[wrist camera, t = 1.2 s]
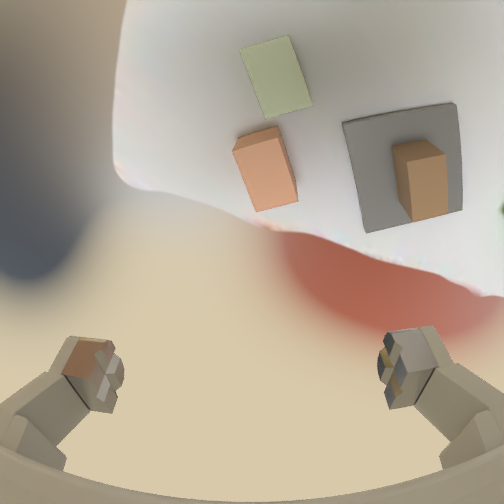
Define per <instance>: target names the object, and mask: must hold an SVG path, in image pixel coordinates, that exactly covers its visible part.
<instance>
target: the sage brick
mask: <svg viewBox="0 0 504 504" xmlns="http://www.w3.org/2000/svg"><path fill="white" fill-rule="evenodd" d="M239 52H240V54H241V57H242V59H243V62H244V64H245V67H246V69H247V72H248V75H249V77H250V80H251V82H252V85H253V88H254V90H255V93H256V95H257V98H258V101H259V103H260V106H261V109H262V112H263V114H264V117H265V119H269V118H272V117H276V116H279V115H282V114H286V113H289V112H293V111H297V110H300V109H304V108H308V107H312V106H313V105H312V101H311V98H310V95H309V92H308V89H307V86H306V83H305V80H304V77H303V74H302V71H301V68H300V65H299V63H298V60H297V57H296V54H295V51H294V49H293V46H292V43H291V41H290V38H289V35H287V36H283V37H280V38H276V39H273V40H269V41H266V42H263V43H259V44H256V45H253V46H250V47H247V48H244V49H241V50H239Z"/></svg>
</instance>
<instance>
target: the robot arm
mask: <svg viewBox="0 0 504 504" xmlns="http://www.w3.org/2000/svg"><path fill="white" fill-rule="evenodd" d="M383 343H384V345H385V347H384V348H383V349H382V350H381V351H380V353H379V356H378V362H377V367H378V368H377V369H378V374H379V378H380V381H382V382H383V383H384V384H386V385H387V386H386V389H385V391H384V394H385V397H386V400H387V404H388V407H389V409H396V408H402V407H407V406H412V405H415V406H414V407H415V408H416V409H417V410H418V411H419V412H420V413H421V414H422V415H423V416H424V417H425V418H426V419H427V420H429V421H430V422H431V423H432V424H433V425H434V426H435V427H436V428H437V429H438V430H439V431H440V432H441V433H442V434H443V435H444V436H445V437H446V438H447V439H448V440H449V441H450V442H451V443H450V444H449V445H448V446H447V447H446V448H445V449H444V450H443V451H442V452H441V454H440V456H439V457H440V461H441V464H442V468H443V470H441V471H438V472H435V473H432V474H429V475H426V476H423V477H419V478H416V479H413V480H409V481H406V482H402V483H398V484H394V485H390V486H386V487H382V488H377V489H372V490H368V491H363V492H357V493H352V494H346V495H339V496H333V497H325V498H316V499H306V500H296V501H295V500H294V501H279V502H222V501H207V500H195V499H185V498H176V497H169V496H162V495H156V494H150V493H144V492H139V491H134V490H129V489H125V488H120V487H115V486H112V485H108V484H103V483H100V482H96V481H93V480H89V479H85V478H82V477H79V476H76V475H73V474H70V473H67V472H64V471H63V469H64V466H65V462H66V456H65V454H63V453H62V452H61V451H60V450H59V449H58V448H57V447H56V446H57V445H58V444H59V443H60V442H61V441H62V440H63V439H64V438H65V437H66V436H67V435H68V434H69V432H71V430H72V429H74V428H75V427H76V426H77V424H79V422H80V421H81V420H82V419H83V418H84V417H85V416H86V415H87V414H88V413H89V412H90V410H91V411H98V412H104V413H113V410H114V407H115V404H116V401H117V398H118V396H117V394H116V390H117V389H118V388H119V387H121V385H122V383H123V380H124V366H123V363H122V361H121V358H119V357H118V356H117V355H116V354H115V353H114V351H115V346H114V344H113V343H112V341H110V340H103V339H95V338H86V337H76V336H69V337H68V338H67V339H66V340H65V342H64V344H63V345H62V347H61V349H60V351H59V353H58V354H57V356H56V358H55V360H54V362H53V364H52V366H51V368H50V369H49V371H48V372H44V373H42V374H41V375H39V376H38V377H37V378H35V379H34V380H33V381H31V382H30V383H28V384H27V385H26V386H24V387H23V388H21V389H20V390H19V391H17V392H16V393H14V394H13V395H12V396H10V397H9V398H8V399H6V400H5V401H4V402H2V403H1V404H0V504H504V394H503V393H502V392H500V391H499V390H497V389H496V388H495V387H493V386H491V385H490V384H489V383H487V382H486V381H484V380H483V379H481V378H480V377H478V376H477V375H475V374H474V373H472V372H471V371H469V370H468V369H466V368H465V367H463V366H462V365H460V364H459V363H456V364H454V362H453V360H452V359H451V357H450V355H449V353H448V351H447V349H446V347H445V346H444V344H443V342H442V340H441V338H440V336H439V335H438V333H437V331H436V329H435V328H434V327H433V326H426V327H419V328H412V329H405V330H398V331H391V332H387V333H386V335H385V337H384V340H383Z"/></svg>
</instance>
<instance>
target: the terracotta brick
mask: <svg viewBox="0 0 504 504" xmlns="http://www.w3.org/2000/svg"><path fill="white" fill-rule="evenodd" d="M232 152H233V155H234V157H235V160H236V162H237V165H238V167H239V170H240V172H241V175H242V178H243V180H244V183H245V185H246V188H247V190H248V193H249V195H250V198H251V201H252V203H253V206H254V208H255V211H256V212H260V211H264V210H267V209H271V208H275V207H279V206H283V205H287V204H291V203H295V202H298V195H297V186H296V180H295V177H294V174H293V171H292V168H291V164H290V161H289V158H288V155H287V152H286V149H285V146H284V143H283V140H282V137H281V134H280V131H279V128H278V126H276V127H272V128H269V129H265V130H262V131H259V132H255V133H252V134H249V135H246V136H242V137H239V138H238V140H237V142H236V144H235V146H234V148H233V151H232Z"/></svg>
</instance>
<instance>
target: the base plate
mask: <svg viewBox="0 0 504 504" xmlns="http://www.w3.org/2000/svg"><path fill="white" fill-rule="evenodd" d="M342 126H343V130H344V134H345V138H346V142H347V146H348V150H349V154H350V159H351V163H352V168H353V172H354V177H355V181H356V186H357V191H358V196H359V202H360V207H361V212H362V218H363V224H364V229H365V232H366V233H370V232H374V231H379V230H383V229H387V228H391V227H395V226H399V225H403V224H407V223H412V222H417V221H421V220H425V219H429V218H433V217H437V216H441V215H445V214H448V213H452V212H456V211H460V210H462V203H463V188H462V158H461V143H460V132H459V122H458V114H457V106H456V104H453V103H449V104H442V105H434V106H428V107H421V108H415V109H409V110H403V111H398V112H392V113H387V114H382V115H377V116H372V117H367V118H362V119H358V120H353V121H349V122H344V123H342Z"/></svg>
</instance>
